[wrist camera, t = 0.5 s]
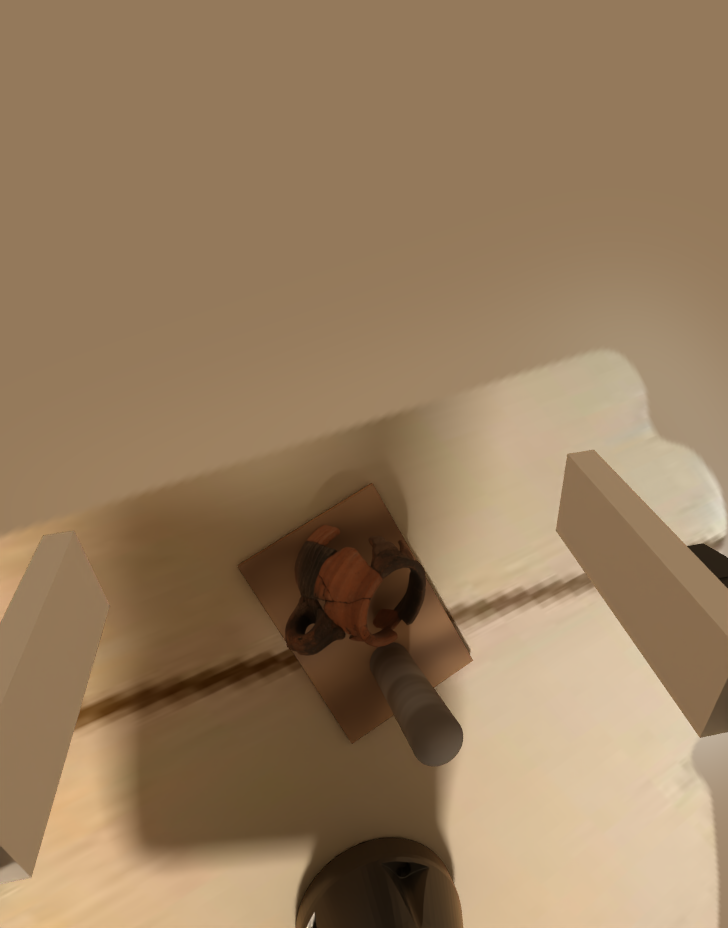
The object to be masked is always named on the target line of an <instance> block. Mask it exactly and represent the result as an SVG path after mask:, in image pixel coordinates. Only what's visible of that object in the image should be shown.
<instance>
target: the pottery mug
mask: <svg viewBox="0 0 728 928" xmlns="http://www.w3.org/2000/svg"><path fill="white" fill-rule="evenodd" d="M339 534H340V530H339V529H338V528H337V527H332V526H329V525H323V526H321V527H319V528H318V529H317V530H316V531H315V532H313V533H312V534H311V536H310V537H309V538H308V539H307V541H306V542H305V543H304V544H303V546H302V548H301V550H300V551H299V553H298V557H297V560H296V562H295V569H294V570H295V580H296V584H297V585H298V588H299V591H300V594H301V597H300V599H299V602H298V605H297V606H296V608H295V609H294V611H293V612H292V614H291V615H290V617H289V619H288V621H287V623H286V628H285V640H286V643H287V647H288V648H289V649H290V650H292V651H296V652H297V653H298V654H300V655H305V656H310V655H314V654H317V653H319V652H320V651H322V650H323V649H324V648H326V647H327V646H328V645H329V644H331V643H332V642H334V641H336V640H342V639H344V638H345V635H346V634H345V632H346V633H347V634H349V635H350V634H351V635H350V637H349V639H350V640H353V641H358V642H365V643H366V644H368V645H370V646H373V647H381V646H385V645H388V644H390V643H392V642H394V641H395V640H396V639H397V638H398V635H397V633H396V632H395V631H393V629H395V628H396V626H397V625H398V624H399V623H400V621H401V620H403V621H404V622H405V623H406V625H410V624H412V623H413V622H414V620H415V618H416V617H417V615H418V613H419V611H420V609H421V606H422V604H423V601H424V597H425V591H426V588H425V587H426V577H425V571H424V569H423V567H422V565H421V564H420V563H419V562H418V561H416V560H414V558H413V556H412V554H411V552H410V550H409V549H408V547H407V546H406V544H405V543H404V542H403V541H402V540H399V541H398V544H399V546H400V551H399V549H398V548H397V546H395V545H394V544H393V543H391V542H389V541H386V540H385V539H384V538H383V537H382V536H372V537H370V538H369V539H368V540H369V543H370V544H371V546H372V547H373V549H372V561H371V566H369V565H368V563H367V562H366V561H365V560H364V559H363V557H362V556H361V555H360V554H359V552H358V551H357V550H356V549H355V548H350V547H345V548H343V549H341V550H340V551H337V550H335V549H332V548H328V547H325V546H326V545H327V544H328V543H329V542H330V541H331V540H332V539H334V538H335V537H336V536H337V535H339ZM401 568H409V569H410V571H411V572H410V574H409V582H408V587H407V591H406V593H405V595H404V597H403V598H402V599H401V601H400V602H399V603H398V605H397V606H396V607H395V609H394V610H391V609H381V610H380V611H379V612H378V613H377V615H376V616H375V618H374V620H373V624H374V626H375V627H376V628H381V629H382V630H381V631H379V632H377V633H375V634H371V633H370V632H369V630H368V627H367V613H368V608H369V604H370V601H371V598H372V597H373V595H374V593H375V591H376V589H377V588H378V587H379V585H380V584H381V582H382V581H383V579H384V578H386V577H387V576H388V575H389V574H391V573H392V572H394V571H395V570H398V569H401ZM317 599H319V600H322V601H325V604H324V607H323V608H324V610H323V609H322V606H321V605H320V603H319V601H318V600H317ZM311 624H315V625H314V626H313V628H312V629H311V630H310V631H309V632H307V633H306V634H305V632H306V629H307V627H308V626H309V625H311Z"/></svg>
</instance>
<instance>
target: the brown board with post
mask: <svg viewBox="0 0 728 928" xmlns="http://www.w3.org/2000/svg"><path fill="white" fill-rule="evenodd" d="M323 525H329V526H332V527H337V528H338V529H339V530H340V534H339V535H337V536H336V537H335V538H334V539H332V540H331V541H330V542H329V543H328V544H327V545H326V546H325V547H328V548H332V549H335V550H337V551H340V550H341V549H343V548H345V547H350V548H355V549H356V550H357V551H358V552H359V554H360V555H361V556H362V557H363V559H364V560H365V561H366V562H367V563H368V565H369V566H371V561H372V549H373V547H372V546H371V544H370V543H369V540H368V539H369V538H370V537H372V536H382V537H383V538H384V539H385V540H386V541H389V542H391V543H393V544H394V545H395V546H397V548H398V549H399V551H400V546H399V544H398V541H399V540H402V541H403V542H404V543H405V544H406V546H407V547H408V545H407V543H406V541H405V540H404V538H403V536H402V534H401V532H400V531H399V529H398V527H397V525H396V524H395V522H394V520H393V518H392V517H391V515H390V513H389V511H388V510H387V508H386V506H385V504H384V503H383V501H382V499H381V497H380V495H379V494H378V492H377V490H376V488H375V487H374V485H373V484H372V483H371V484H369V485H368V486H366V487H364V488H363V489H361V490H360V491H358V492H356V493H355V494H353V495H351V496H350V497H348V498H347V499H345V500H343V501H342V502H340V503H338V504H337V505H335V506H333V507H332V508H330V509H329V510H327V511H325V512H324V513H322V514H320V515H319V516H317V517H316V518H314V519H312V520H311V521H309V522H307V523H306V524H304V525H302V526H301V527H299V528H298V529H296V530H294V531H293V532H291V533H289V534H288V535H286V536H285V537H283V538H281V539H280V540H278V541H276V542H275V543H273V544H271V545H270V546H268V547H267V548H265V549H263V550H262V551H260V552H258V553H257V554H255V555H254V556H252V557H250V558H249V559H247V560H245V561H244V562H242V563H241V564H239V565H238V568H239V570H240V571H241V573H242V574H243V576H244V578H245V579H246V581H247V582H248V584H249V585H250V587H251V588H252V590H253V592H254V593H255V595H256V596H257V598H258V599H259V601H260V602H261V604H262V605H263V607H264V609H265V610H266V612H267V613H268V615H269V616H270V618H271V619H272V621H273V622H274V624H275V626H276V627H277V629H278V630H279V632H280V633H281V635H282V636H283V638H284V640H285V628H286V623H287V621H288V619H289V617H290V615H291V614H292V612H293V611H294V609H295V608H296V606H297V605H298V602H299V599H300V597H301V594H300V591H299V588H298V585H297V584H296V580H295V570H294V569H295V562H296V560H297V557H298V553H299V551H300V550H301V548H302V546H303V544H304V543H305V542H306V541H307V539H308V538H309V537H310V536H311V534H312V533H313V532H315V531H316V530H317V529H318V528H319V527H321V526H323ZM408 549H409V550H410V548H409V547H408ZM410 552H411V550H410ZM411 554H412V552H411ZM412 556H413V558H414V560H416V559H415V557H414V555H413V554H412ZM410 572H411V571H410V569H409V568H401V569H398V570H395V571H394V572H392V573H391V574H389V575H388V576H387V577H386V578H384V579H383V581H382V582H381V584H380V585H379V587H378V588H377V589H376V591H375V593H374V595H373V597H372V598H371V601H370V604H369V608H368V613H367V627H368V630H369V632H370V633H371V634H375V633H377V632H379V631H381V630H382V629H381V628H376V627H375V626H374V624H373V620H374V618H375V616H376V615H377V613H378V612H379V611H380V610H381V609H391V610H394V609H395V607H396V606H397V605H398V603H399V602H400V601H401V599H402V598H403V597H404V595H405V593H406V591H407V587H408V582H409V574H410ZM425 588H426V591H425V597H424V601H423V604H422V606H421V609H420V611H419V613H418V615H417V617H416V618H415V620H414V622H413V623H412V624H410V625H406V623H405V622H404V621H403V620H401V621H400V623H399V624H398V625H397V626H396V628H395V629H393V631H395V632H396V633H397V635H398V638H397V639H396V640H395V641H394V642H392V643H390V644H388V645H385V646H381V647H373V646H370V645H368V644H366V643H365V642H358V641H353V640H350V639H349V637H350V635H351V634H350V635H349V634H347V633H346V632H345V634H346V635H345V638H344V639H342V640H336V641H334V642H332V643H331V644H329V645H328V646H327V647H326V648H324V649H323V650H322V651H320V652H319V653H317V654H314V655H310V656H305V655H300V654H298V653H297V652H296V651H292V652H293V653H294V655H295V657H296V658H297V660H298V661H299V663H300V664H301V666H302V667H303V669H304V670H305V672H306V674H307V675H308V677H309V678H310V680H311V681H312V683H313V684H314V686H315V687H316V689H317V691H318V692H319V694H320V695H321V697H322V698H323V700H324V701H325V703H326V705H327V706H328V708H329V709H330V711H331V712H332V714H333V715H334V717H335V718H336V720H337V722H338V723H339V725H340V726H341V728H342V729H343V731H344V732H345V734H346V735H347V737H348V739H349V740H350V742H351V743H354V742H355V741H357V740H358V739H360V738H361V737H363V736H364V735H366V734H367V733H368V732H370V731H371V730H373V729H374V728H376V727H377V726H379V725H380V724H382V723H383V722H384V721H386V720H387V719H389V718H390V717H392V716H393V715H394V716H395V718H396V720H397V722H398V723H399V725H400V727H401V729H402V731H403V733H404V735H405V737H406V739H407V741H408V743H409V745H410V747H411V748H412V750H413V752H414V754H415V756H416V758H417V759H418V760H419V761H420V762H421V763H423V764H425V765H428V766H440V765H443V764H446V763H448V762H449V761H451V760H452V759H453V758H454V757H455V756H456V755H457V754H458V752H459V750H460V748H461V746H462V742H463V731H462V728H461V726H460V724H459V723H458V722H457V720H456V719H455V717H454V716H453V715H452V713H451V712H450V710H449V709H448V707H447V706H446V705H445V703H444V702H443V700H442V699H441V698H440V696H439V695H438V693H437V692H436V691H435V689H434V687H435V686H437V685H438V684H440V683H441V682H443V681H444V680H445V679H447V678H448V677H450V676H451V675H453V674H454V673H456V672H457V671H458V670H460V669H461V668H463V667H464V666H466V665H467V664H469V663H470V662H472V661H473V659H472V658H471V656H470V654H469V652H468V651H467V649H466V647H465V645H464V644H463V642H462V640H461V638H460V637H459V635H458V633H457V631H456V630H455V628H454V626H453V624H452V622H451V621H450V619H449V617H448V615H447V614H446V612H445V610H444V608H443V607H442V605H441V603H440V601H439V600H438V598H437V596H436V594H435V592H434V591H433V589H432V587H431V585H430V584H429V582H428V580H427V578H426V587H425ZM317 600H318V601H319V603H320V605H321V606H322V609H323V610H324V608H323V607H324V604H325V601H322V600H319V599H317ZM314 625H315V624H311V625H309V626H308V627H307V629H306V632H305V634H306V633H307V632H309V631H310V630H311V629H312V628H313V626H314ZM285 641H286V640H285Z"/></svg>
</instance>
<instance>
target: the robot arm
mask: <svg viewBox="0 0 728 928" xmlns="http://www.w3.org/2000/svg"><path fill="white" fill-rule="evenodd" d="M556 531H557V533H558V534H559V536H560V537H561V539H562V540H563V541H564V543H565V544H566V546H567V547H568V549H569V550H570V551H571V553H572V554H573V556H574V557H575V559H576V560H577V562H578V563H579V564H580V566H581V567H582V569H583V570H584V572H585V573H586V575H587V576H588V577H589V579H590V580H591V582H592V583H593V585H594V586H595V587H596V589H597V590H598V592H599V593H600V595H601V596H602V598H603V599H604V600H605V602H606V603H607V605H608V606H609V608H610V609H611V610H612V612H613V613H614V615H615V616H616V618H617V619H618V621H619V622H620V623H621V625H622V626H623V628H624V629H625V631H626V632H627V633H628V635H629V636H630V638H631V639H632V641H633V642H634V644H635V645H636V646H637V648H638V649H639V651H640V652H641V654H642V655H643V657H644V658H645V659H646V661H647V662H648V664H649V665H650V667H651V668H652V669H653V671H654V672H655V674H656V675H657V677H658V678H659V680H660V681H661V682H662V684H663V685H664V687H665V688H666V690H667V691H668V692H669V694H670V695H671V697H672V698H673V700H674V701H675V703H676V704H677V705H678V707H679V708H680V710H681V711H682V713H683V714H684V715H685V717H686V718H687V720H688V721H689V723H690V724H691V726H692V727H693V728H694V730H695V731H696V733H697V734H698V736H699V737H700V738H701V737H706V736H711V735H716V734H720V733H725V732H728V558H727V557H726V556H724V555H722V554H721V553H719V552H717V551H715V550H714V549H712V548H710V547H708V546H707V545H705V544H697V545H691V546H686V545H685V544H684V543H683V542H682V541H681V540H680V539H679V538H678V537H677V536H676V534H675V533H674V532H673V531H672V530H671V529H670V528H669V527H668V526H667V525H666V524H665V523H664V522H663V521H662V520H661V519H660V518H659V517H658V516H657V515H656V514H655V513H654V512H653V511H652V510H651V509H650V507H649V506H648V505H647V504H646V503H645V502H644V501H643V500H642V499H641V498H640V497H639V496H638V495H637V494H636V493H635V492H634V491H633V490H632V489H631V488H630V487H629V486H628V485H627V484H626V483H625V482H624V481H623V479H622V478H621V477H620V476H619V475H618V474H617V473H616V472H615V471H614V470H613V469H612V468H611V467H610V466H609V465H608V464H607V463H606V462H605V461H604V460H603V459H602V458H601V457H600V456H599V455H598V454H597V452H596V451H595V450H589V451H583V452H577V453H570V454H567V461H566V467H565V474H564V480H563V487H562V494H561V500H560V507H559V514H558V520H557V527H556ZM109 607H110V605H109V603H108V601H107V598H106V596H105V594H104V592H103V590H102V588H101V586H100V584H99V581H98V579H97V577H96V575H95V573H94V571H93V569H92V567H91V565H90V562H89V560H88V558H87V556H86V554H85V552H84V550H83V548H82V545H81V543H80V541H79V539H78V537H77V535H76V533H75V531H69V532H62V533H56V534H50V535H43V537H42V539H41V541H40V543H39V545H38V547H37V549H36V551H35V553H34V555H33V557H32V559H31V561H30V563H29V565H28V567H27V570H26V572H25V574H24V576H23V578H22V580H21V582H20V584H19V586H18V588H17V590H16V592H15V594H14V596H13V598H12V600H11V602H10V604H9V606H8V608H7V610H6V612H5V615H4V617H3V619H2V621H1V623H0V884H4V883H9V882H13V881H18V880H23V879H28V878H31V877H32V874H33V870H34V867H35V863H36V860H37V856H38V853H39V849H40V846H41V842H42V839H43V835H44V832H45V829H46V825H47V822H48V818H49V815H50V811H51V808H52V804H53V801H54V797H55V794H56V791H57V787H58V784H59V780H60V777H61V773H62V770H63V766H64V763H65V759H66V756H67V752H68V749H69V746H70V742H71V739H72V735H73V732H74V728H75V725H76V721H77V718H78V714H79V711H80V708H81V704H82V701H83V697H84V694H85V690H86V687H87V683H88V680H89V676H90V673H91V669H92V666H93V663H94V659H95V656H96V652H97V649H98V645H99V642H100V638H101V635H102V631H103V628H104V624H105V621H106V618H107V614H108V611H109ZM296 928H463V919H462V909H461V904H460V900H459V896H458V893H457V890H456V888H455V885H454V883H453V881H452V879H451V877H450V875H449V872H448V870H447V868H446V866H445V865H444V863H443V862H442V860H441V859H440V858H439V857H438V856H437V855H436V854H435V853H434V852H433V851H431V850H430V849H429V848H427V847H425V846H424V845H422V844H419V843H417V842H414V841H411V840H407V839H401V838H383V839H376V840H371V841H368V842H365V843H362V844H359V845H357V846H354V847H352V848H350V849H348V850H347V851H345V852H343V853H342V854H340V855H339V856H337V857H336V858H335V859H333V860H332V861H331V862H330V863H329V864H327V865H326V866H325V867H324V868H323V869H322V870H321V872H320V873H319V874H318V875H317V876H316V877H315V879H314V880H313V881H312V883H311V884H310V886H309V888H308V889H307V891H306V893H305V895H304V897H303V899H302V902H301V904H300V907H299V911H298V915H297V920H296Z"/></svg>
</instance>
